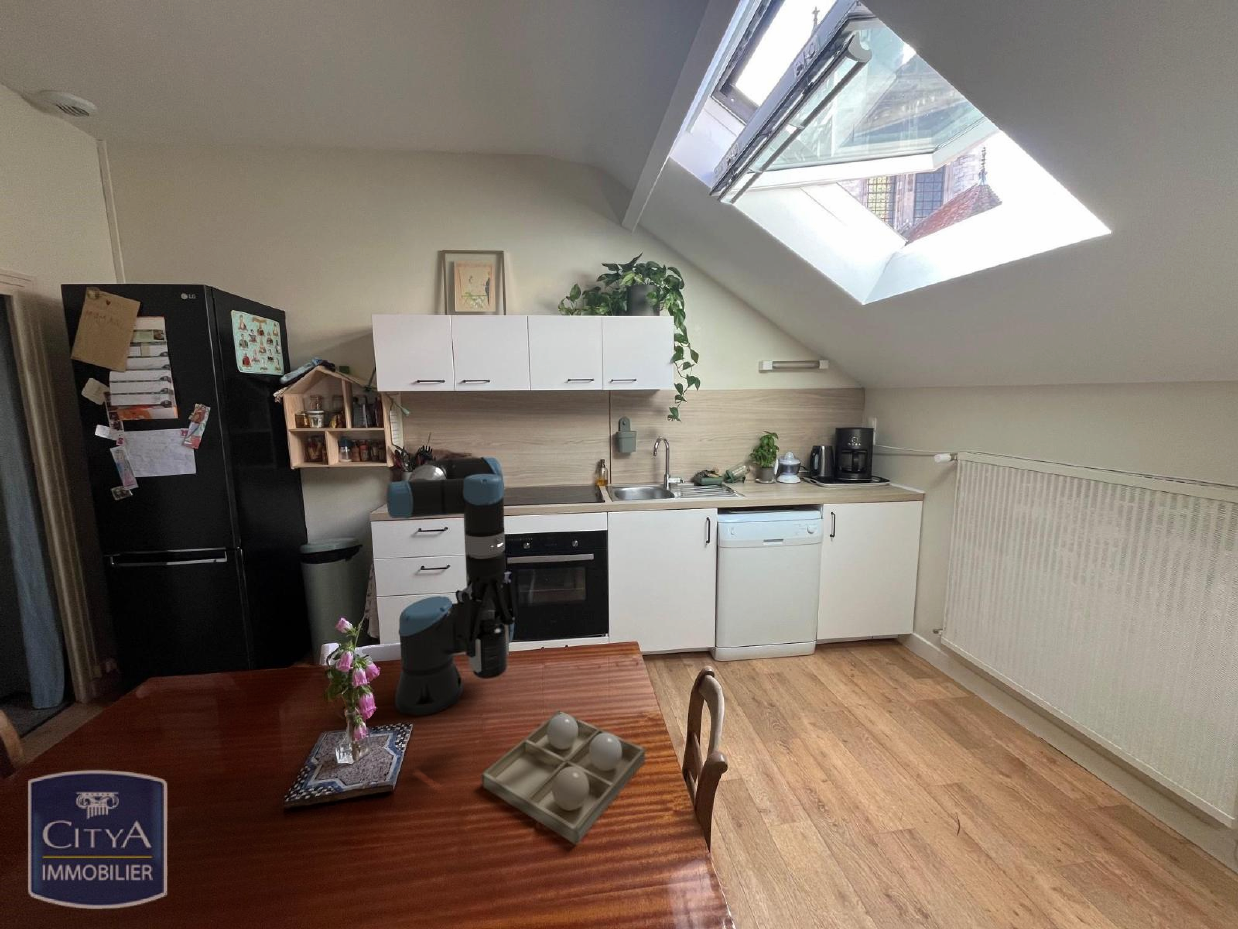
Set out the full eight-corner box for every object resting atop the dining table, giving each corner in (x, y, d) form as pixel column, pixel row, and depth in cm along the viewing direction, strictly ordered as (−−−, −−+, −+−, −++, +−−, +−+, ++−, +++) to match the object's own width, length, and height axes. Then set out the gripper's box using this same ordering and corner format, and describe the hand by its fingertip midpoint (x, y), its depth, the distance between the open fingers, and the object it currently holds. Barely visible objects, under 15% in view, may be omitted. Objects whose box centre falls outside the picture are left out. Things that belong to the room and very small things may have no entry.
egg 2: (544, 809, 84) (544, 775, 83) (568, 785, 90) (567, 753, 89) (573, 827, 81) (573, 791, 80) (596, 800, 86) (596, 767, 85)
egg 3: (582, 770, 93) (581, 739, 92) (601, 750, 98) (601, 721, 97) (609, 785, 90) (609, 753, 89) (628, 763, 95) (628, 733, 94)
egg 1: (540, 749, 99) (539, 719, 98) (560, 731, 104) (560, 703, 103) (564, 761, 95) (564, 731, 94) (584, 742, 101) (584, 714, 100)
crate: (482, 791, 89) (481, 773, 89) (559, 725, 107) (559, 710, 107) (576, 850, 78) (576, 831, 77) (645, 765, 96) (645, 749, 95)
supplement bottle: (511, 662, 103) (510, 608, 101) (500, 681, 96) (498, 623, 95) (480, 660, 104) (478, 607, 102) (467, 679, 97) (464, 622, 95)
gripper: (457, 571, 86) (462, 691, 90) (534, 543, 103) (536, 646, 106) (430, 563, 91) (436, 678, 94) (508, 537, 107) (511, 636, 110)
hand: (489, 661), depth 100 cm, fingers closed on supplement bottle, 7 cm apart
